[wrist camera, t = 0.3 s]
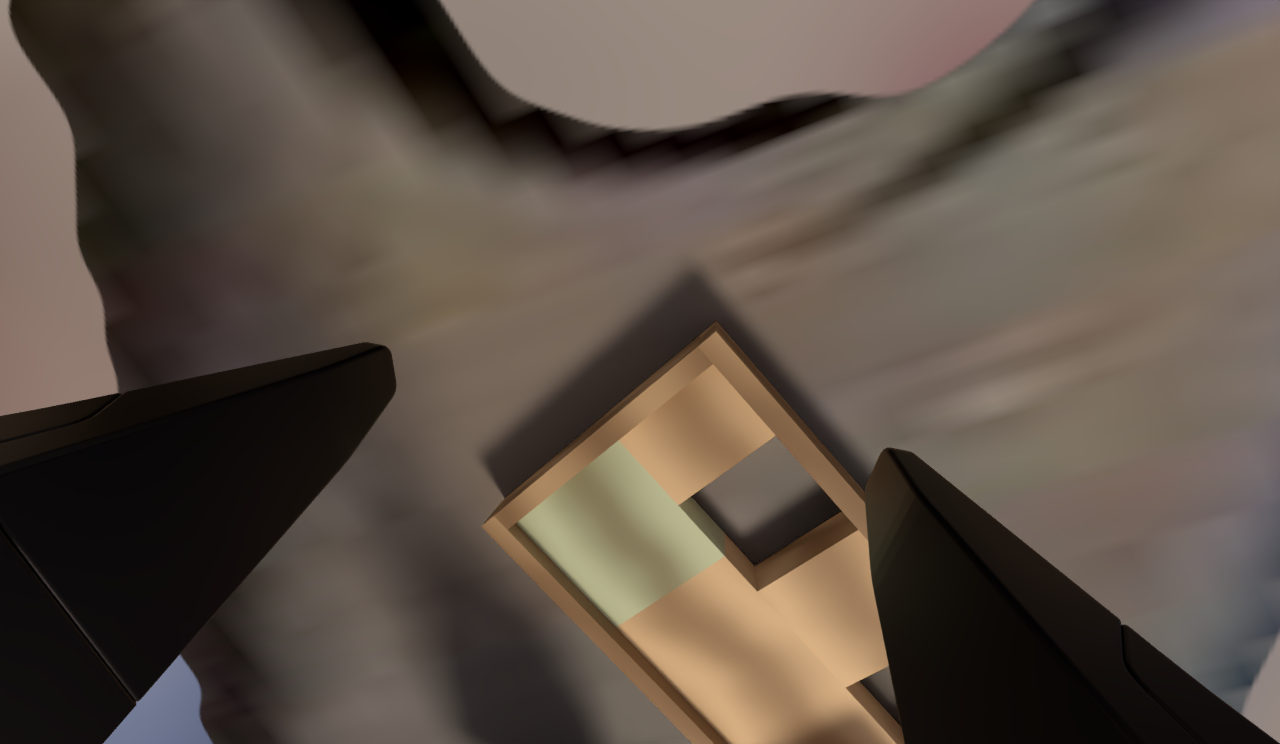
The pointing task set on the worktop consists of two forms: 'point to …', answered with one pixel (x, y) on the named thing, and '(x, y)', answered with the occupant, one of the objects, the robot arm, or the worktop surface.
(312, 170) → the worktop surface
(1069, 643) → the robot arm
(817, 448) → the box
